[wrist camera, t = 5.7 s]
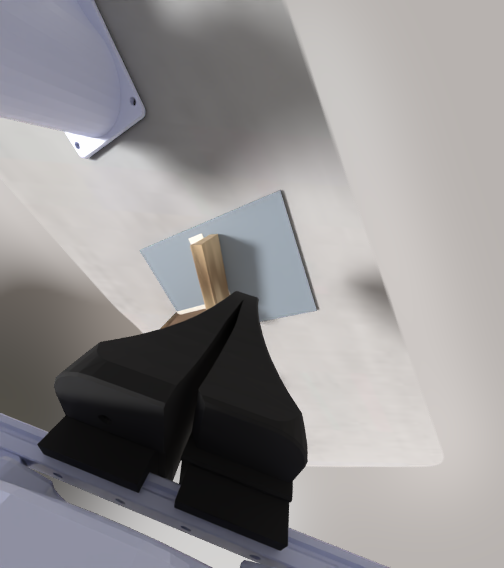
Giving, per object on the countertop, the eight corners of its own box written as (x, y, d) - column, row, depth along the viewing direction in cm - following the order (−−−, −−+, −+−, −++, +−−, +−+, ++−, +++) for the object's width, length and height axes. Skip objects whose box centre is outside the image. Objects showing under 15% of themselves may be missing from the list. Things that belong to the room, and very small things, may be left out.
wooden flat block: (230, 296, 21) (218, 317, 18) (221, 296, 22) (207, 317, 18) (218, 233, 18) (201, 244, 15) (209, 234, 19) (189, 245, 15)
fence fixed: (172, 311, 25) (148, 336, 21) (232, 296, 22) (218, 321, 18) (178, 321, 25) (156, 347, 21) (238, 307, 22) (225, 334, 18)
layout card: (141, 249, 22) (139, 250, 21) (280, 190, 16) (280, 190, 16) (192, 333, 26) (191, 335, 26) (316, 308, 20) (316, 310, 20)
